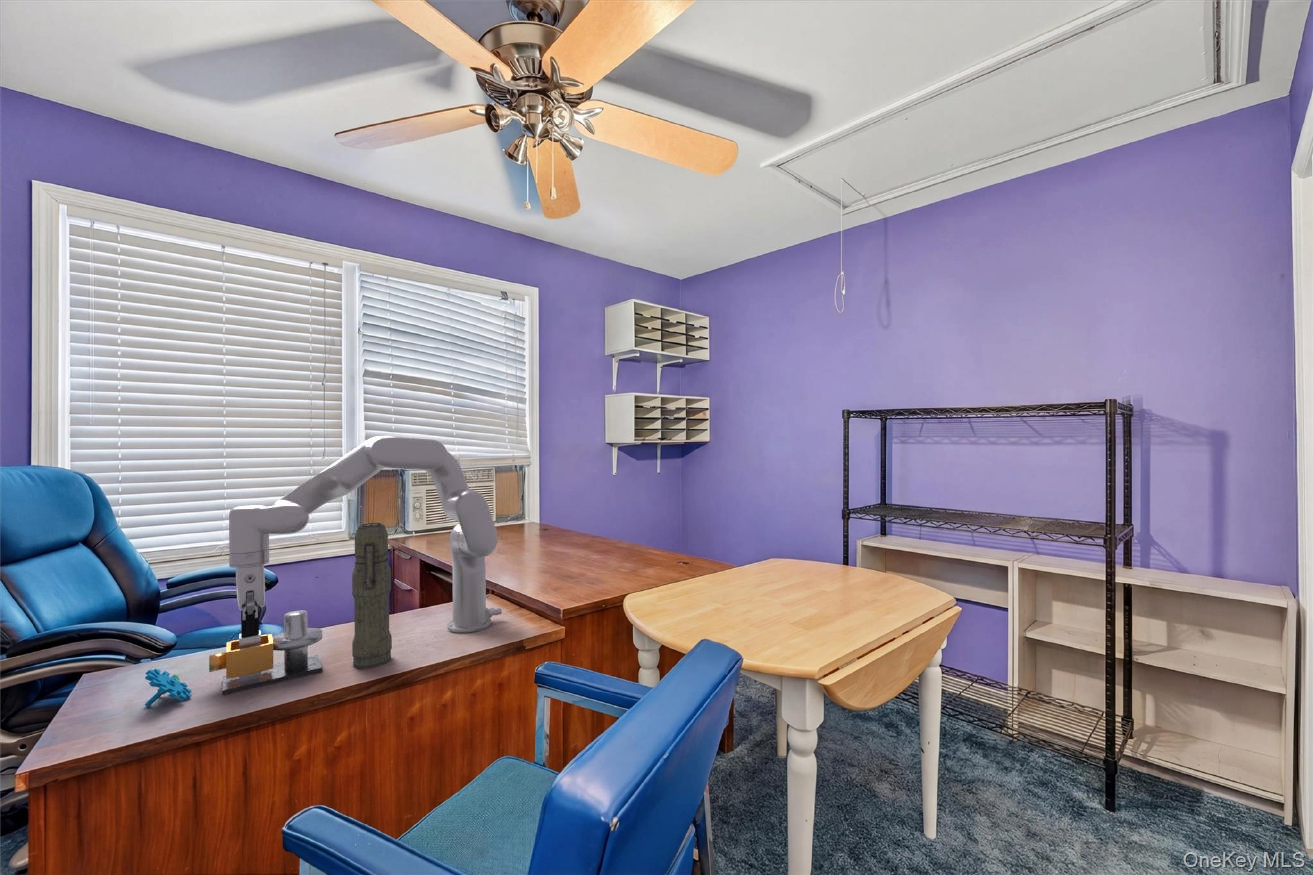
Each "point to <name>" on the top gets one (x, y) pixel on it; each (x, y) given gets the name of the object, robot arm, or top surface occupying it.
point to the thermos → (371, 597)
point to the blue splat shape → (166, 686)
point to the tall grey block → (245, 644)
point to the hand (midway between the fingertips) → (249, 630)
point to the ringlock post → (270, 656)
